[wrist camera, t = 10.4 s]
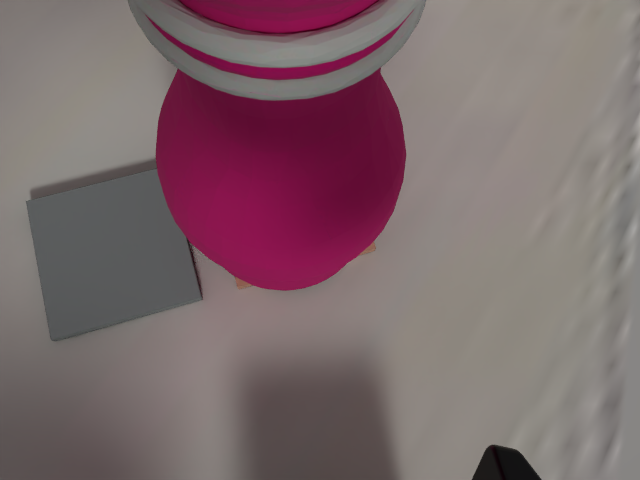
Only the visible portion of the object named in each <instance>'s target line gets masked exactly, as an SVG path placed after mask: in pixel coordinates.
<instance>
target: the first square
mask: <svg viewBox="0 0 640 480" xmlns="http://www.w3.org/2000/svg"><path fill="white" fill-rule="evenodd" d="M26 204H27V210H28V215H29V221H30V226H31V232H32V237H33V243H34V248H35V254H36V260H37V265H38V271H39V276H40V282H41V287H42V293H43V298H44V304H45V310H46V315H47V321H48V326H49V332H50V337H51V340H53V341H58V340H62V339H65V338H69V337H72V336H76V335H79V334H83V333H86V332H90V331H94V330H97V329H101V328H104V327H108V326H111V325H115V324H118V323H122V322H125V321H129V320H132V319H136V318H139V317H143V316H146V315H150V314H153V313H157V312H161V311H164V310H168V309H171V308H175V307H178V306H182V305H185V304H189V303H192V302H196V301H199V300H203V299H202V295H201V291H200V287H199V283H198V279H197V275H196V271H195V267H194V263H193V259H192V255H191V251H190V247H189V243H188V239H187V238H186V236H185V235H184V233H183V232H182V231H181V229H180V228H179V227H178V225H177V224H176V223H175V221H174V218H173V216H172V214H171V212H170V210H169V208H168V206H167V203H166V200H165V196H164V193H163V190H162V187H161V183H160V180H159V177H158V172H157V168H156V169H152V170H148V171H144V172H140V173H137V174H133V175H129V176H125V177H121V178H117V179H113V180H109V181H105V182H101V183H97V184H93V185H89V186H85V187H81V188H77V189H73V190H69V191H65V192H61V193H57V194H53V195H49V196H45V197H41V198H37V199H33V200H29V201H26Z"/></svg>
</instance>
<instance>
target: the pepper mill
mask: <svg viewBox="0 0 640 480" xmlns="http://www.w3.org/2000/svg"><path fill="white" fill-rule="evenodd" d="M425 2H426V0H128V3H129V6H130V9H131V11H132V13H133V15H134V17H135V19H136V21H137V23H138V24H139V26H140V27H141V29H142V31H143V32H144V34H145V35H146V37H147V38H148V40H149V41H150V43H151V44H152V45H153V46H154V47H155V48H156V49H157V50H158V51H159V52H160V53H161V54H162V55H163V56H164V57H165V58H166V59H167V60H168V61H169V62H171V63H172V64H173V65H174V66H176V67H177V68H178V70H177V73H176V75H175V77H174V79H173V81H172V83H171V86H170V88H169V90H168V92H167V94H166V97H165V99H164V102H163V105H162V108H161V112H160V116H159V121H158V131H157V143H156V163H157V172H158V177H159V180H160V183H161V187H162V190H163V193H164V196H165V200H166V203H167V206H168V208H169V210H170V212H171V214H172V216H173V218H174V221H175V223H176V224H177V225H178V227H179V228H180V229H181V231H182V232H183V233H184V235H185V236H186V238H187V239H188V240H189V242H190V243H192V244H193V245H194V246H195V247H196V248H197V249H198V250H200V251H201V252H202V253H203V254H204V255H205V256H207V257H208V258H209V259H211V260H212V261H214V262H215V263H217V264H219V265H221V266H222V267H224V268H225V269H226V270H227V271H228V272H229V273H231V274H232V275H234V276H235V277H237V278H239V279H241V280H243V281H245V282H247V283H249V284H251V285H254V286H257V287H260V288H265V289H273V290H296V289H302V288H306V287H309V286H312V285H315V284H318V283H320V282H322V281H324V280H326V279H328V278H329V277H331V276H332V275H334V274H336V273H337V272H338V271H339V270H340V269H341V268H343V267H344V266H345V265H346V264H347V263H348V262H349V261H351V260H353V259H354V258H356V257H357V256H358V255H359V254H360V253H362V252H363V251H364V250H365V249H366V248H367V247H369V246H370V245H371V244H372V243H373V241H374V240H375V239H376V238H377V237H378V235H379V234H380V233H381V232H382V231H383V229H384V227H385V225H386V224H387V222H388V220H389V218H390V216H391V215H392V213H393V211H394V208H395V205H396V202H397V199H398V196H399V192H400V189H401V186H402V183H403V178H404V169H405V161H406V149H405V141H404V133H403V126H402V121H401V118H400V114H399V110H398V107H397V105H396V103H395V101H394V98H393V96H392V94H391V92H390V90H389V88H388V86H387V84H386V83H385V81H384V79H383V77H382V75H381V73H380V70H381V67H382V66H383V65H384V64H385V63H387V62H388V61H389V60H390V59H391V58H392V57H393V56H394V55H395V54H396V53H397V52H398V51H399V50H400V49H401V47H402V46H403V45H404V44H405V43H406V41H407V40H408V38H409V36H410V35H411V33H412V32H413V30H414V29H415V27H416V25H417V24H418V22H419V20H420V17H421V14H422V12H423V9H424V7H425Z"/></svg>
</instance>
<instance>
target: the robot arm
mask: <svg viewBox="0 0 640 480" xmlns="http://www.w3.org/2000/svg"><path fill="white" fill-rule="evenodd" d="M472 480H541V478H540V477H539V476H538V475H537V473H536V472H535V471H534V469H533V468H532V467H531V465H530V464H529V463H528V462H527V460H526V459H525V458H524V456H523V455H522V454H521V453H520V452H519V451H518V450H515V449H512V448H507V447H503V446H498V445H490V446H489V447H487V449H486V450H485V452H484V454H483V456H482V459H481V461H480V463H479V465H478V467H477V470H476V472H475V474H474V476H473V478H472Z"/></svg>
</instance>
